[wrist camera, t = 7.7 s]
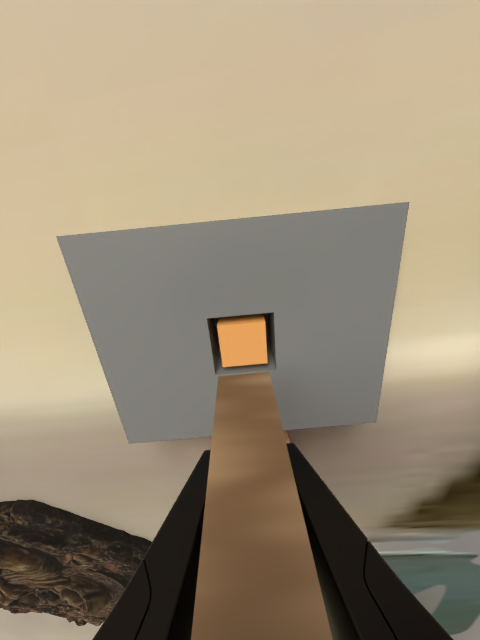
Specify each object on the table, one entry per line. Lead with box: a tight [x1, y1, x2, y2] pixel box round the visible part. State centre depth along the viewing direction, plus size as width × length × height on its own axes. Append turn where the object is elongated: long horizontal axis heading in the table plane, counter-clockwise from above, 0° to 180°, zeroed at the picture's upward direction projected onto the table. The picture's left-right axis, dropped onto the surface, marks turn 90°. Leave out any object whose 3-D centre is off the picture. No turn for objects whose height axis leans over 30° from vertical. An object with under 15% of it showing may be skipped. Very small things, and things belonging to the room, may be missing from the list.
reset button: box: [217, 313, 268, 367], centre depth 18 cm, size 3×3×4 cm
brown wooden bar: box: [191, 372, 333, 640], centre depth 7 cm, size 2×2×10 cm
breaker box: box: [57, 202, 409, 444], centre depth 19 cm, size 20×16×4 cm
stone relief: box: [0, 500, 152, 626], centre depth 32 cm, size 26×4×30 cm
